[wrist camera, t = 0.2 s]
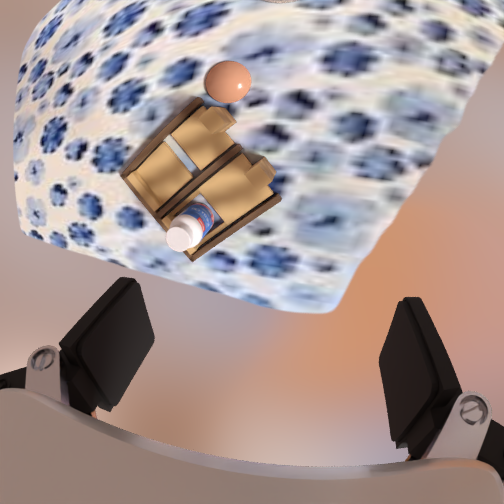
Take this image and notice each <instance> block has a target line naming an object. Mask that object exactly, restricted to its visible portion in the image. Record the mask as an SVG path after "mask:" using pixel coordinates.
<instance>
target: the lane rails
mask: <svg viewBox="0 0 504 504" xmlns="http://www.w3.org/2000/svg"><path fill="white" fill-rule="evenodd" d="M203 103H204V101H203V100H202V99H201V98H200V97H197V98H196V99H195V100H194V101H193V102H191V103H190V104H189V105H188V106H187V107H186V108H185V109H184V110H183V111H182V112H181V113H179V114H178V115H177V116H176V117H175V118H174V119H173V120H172V121H171V122H170V123H169V124H168V125H167V126H166V127H165V128H164V129H163V130H162V131H161V132H160V133H159V134H158V135H157V136H156V137H155V138H154V139H153V140H152V141H151V142H150V143H149V144H148V145H147V146H146V147H145V149H144V150H143V151H142V152H141V153H140V154H139V155H138V156H137V157H136V158H135V159H134V161H133V162H132V163H131V164H130V165H129V166H128V167H127V169H126V170H125V171H124V172H123V173H122V174H121V177H122V179H123V180H124V181H125V182H126V184H127V185H128V186H129V188H130V189H131V190H132V191H133V193H134V194H135V195H136V196H137V197H138V199H139V200H140V201H141V202H142V204H143V205H144V206H145V207H146V209H147V210H148V211H149V212H150V213H151V215H152V216H153V217H154V218H155V219H156V221H157V222H158V223H159V224H160V225H161V227H162V228H163V229H164V230H165V231H166V233H167V231H168V230H169V229H168V228H167V227H166V226H165V224H164V223H163V222H162V221H161V220H162V219H163V218H165V216H164V214H165V213H167V212H168V211H169V210H170V209H171V208H172V207H173V206H174V205H176V204H177V203H178V202H179V201H180V200H181V199H182V198H184V197H185V196H186V195H187V194H188V193H189V192H190V191H192V190H193V189H194V188H195V187H196V186H198V185H199V184H200V183H201V182H202V181H204V180H205V179H206V178H207V177H208V176H210V175H211V174H212V173H213V172H214V171H216V170H217V169H218V168H219V167H221V166H222V165H223V164H224V163H226V162H227V161H228V160H229V159H231V158H232V157H233V156H235V155H236V154H237V153H238V152H240V151H241V150H242V149H243V148H242V146H241V145H240V144H238V145H236V146H235V147H234V148H233V149H231V150H230V151H229V152H227V153H226V154H225V155H224V156H222V157H221V158H220V159H219V160H218V161H216V162H215V163H214V164H213V165H211V166H210V167H209V168H208V169H207V170H205V171H204V172H203V173H202V174H201V175H199V176H198V177H197V178H196V179H195V180H194V181H192V182H191V183H190V184H189V185H188V186H187V187H186V188H184V189H183V190H182V191H181V192H180V193H179V194H178V195H177V196H175V197H174V198H173V199H172V200H171V201H170V202H169V203H168V204H167V205H165V206H164V207H163V208H162V209H161V210H159V208H160V207H161V206H162V205H163V204H164V203H165V202H167V201H168V200H169V199H170V198H171V197H172V196H173V195H174V194H175V193H176V192H178V191H179V190H180V189H181V188H182V187H183V186H184V185H185V184H187V183H188V182H189V181H190V180H191V179H192V178H193V177H194V176H193V175H192V174H191V172H190V171H189V170H188V169H187V167H186V166H185V165H184V164H183V163H182V161H181V160H180V159H179V158H178V156H177V155H176V154H175V153H174V152H173V150H172V149H171V148H170V147H169V145H168V144H167V143H166V142H163V143H162V144H161V145H160V146H159V147H158V148H157V149H156V150H155V151H154V152H153V153H152V154H151V155H150V156H149V157H148V158H147V160H146V161H145V162H144V163H143V164H142V165H141V166H140V167H139V168H138V169H137V170H136V171H134V170H135V169H136V168H137V167H138V166H139V165H140V164H141V163H142V162H143V160H144V159H145V158H146V157H147V156H148V155H149V154H150V153H151V152H152V151H153V150H154V149H155V148H156V147H157V146H158V145H159V144H160V143H161V142H162V141H163V140H164V139H165V138H166V137H167V136H168V135H169V134H170V133H171V132H172V131H173V130H174V129H175V128H176V127H177V126H178V125H179V124H180V123H182V122H183V121H184V120H185V119H186V118H187V117H188V116H189V115H190V114H191V113H192V112H194V111H195V110H196V109H197V108H198V107H199V106H200V105H202V104H203ZM133 171H134V172H133ZM281 199H282V198H281V196H280V195H279V194H276V195H275V196H273V197H272V198H270V199H269V200H268V201H266V202H265V203H263V204H262V205H260V206H259V207H257V208H256V209H254V210H253V211H252V212H250V213H249V214H247V215H246V216H244V217H243V218H242V219H240V220H239V221H237V222H236V223H235V224H233V225H232V226H230V227H229V228H227V229H226V230H225V231H223V232H222V233H220V234H219V235H218V236H216V237H215V238H213V239H212V240H211V241H209V242H208V243H206V244H205V245H204V246H202V247H201V248H200V249H198V250H197V251H195V252H193V253H192V254H191V255H190V254H189V253H188V251H187V250H185V251H183V252H184V253H185V255H186V256H187V257H188V258H189V259H190V260H191V261H192V262H193V261H195V260H196V259H197V258H199V257H200V256H202V255H203V254H205V253H206V252H207V251H209V250H210V249H212V248H213V247H215V246H216V245H217V244H219V243H220V242H222V241H223V240H225V239H226V238H227V237H229V236H230V235H232V234H233V233H235V232H236V231H238V230H239V229H240V228H242V227H243V226H245V225H246V224H248V223H249V222H251V221H252V220H254V219H255V218H257V217H258V216H259V215H261V214H262V213H264V212H265V211H267V210H268V209H270V208H271V207H273V206H274V205H276V204H277V203H279V202H280V201H281Z"/></svg>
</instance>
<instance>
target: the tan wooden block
mask: <svg viewBox="0 0 504 504" xmlns="http://www.w3.org/2000/svg"><path fill="white" fill-rule="evenodd" d="M235 123H236V120H235V119H234V118H233V117H232V116H231V114H230V113H229V112H228V111H227V110H226V109H225V108H221V107H210V108H209V109H208V110H207V109H206V108H205V107H204V106H202V107H200V108H199V109H198V110H197V111H196V112H195V113H194V114H193V115H191V116H190V117H189V118H188V119H187V120H186V121H185V122H184V123H183V124H182V125H181V126H179V127H178V128H177V129H176V130H175V131H174V132H173V133H172V134H171V135H172V136H173V137H174V139H175V140H176V141H177V142H178V143H179V145H180V146H181V147H182V148H183V149H184V151H185V152H186V153H187V154H188V156H189V157H190V158H191V159H192V160H193V162H194V163H195V164H196V165H197V167H198V168H199V169H200V170H203V169H204V168H205V167H206V166H208V165H209V164H210V163H211V162H212V161H214V160H215V159H216V158H217V157H218V156H220V155H221V154H222V153H223V152H225V151H226V150H227V149H228V148H230V147H231V146H232V145H233V144H235V143H234V142H233V140H232V139H231V138H230V137H229V136H228V134H227V133H226V132H225V131H226V130H227V129H229V128H230V127H231V126H232V125H234V124H235Z"/></svg>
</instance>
